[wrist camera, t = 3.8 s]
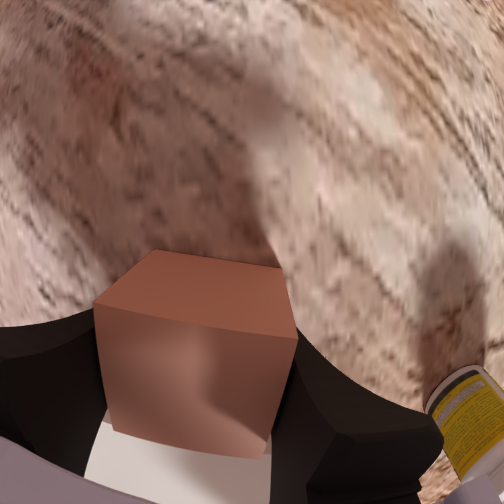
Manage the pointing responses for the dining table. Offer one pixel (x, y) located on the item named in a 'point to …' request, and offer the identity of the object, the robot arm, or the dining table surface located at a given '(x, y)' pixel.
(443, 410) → the supplement bottle
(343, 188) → the dining table surface
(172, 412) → the cube
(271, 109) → the dining table surface
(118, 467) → the tray
